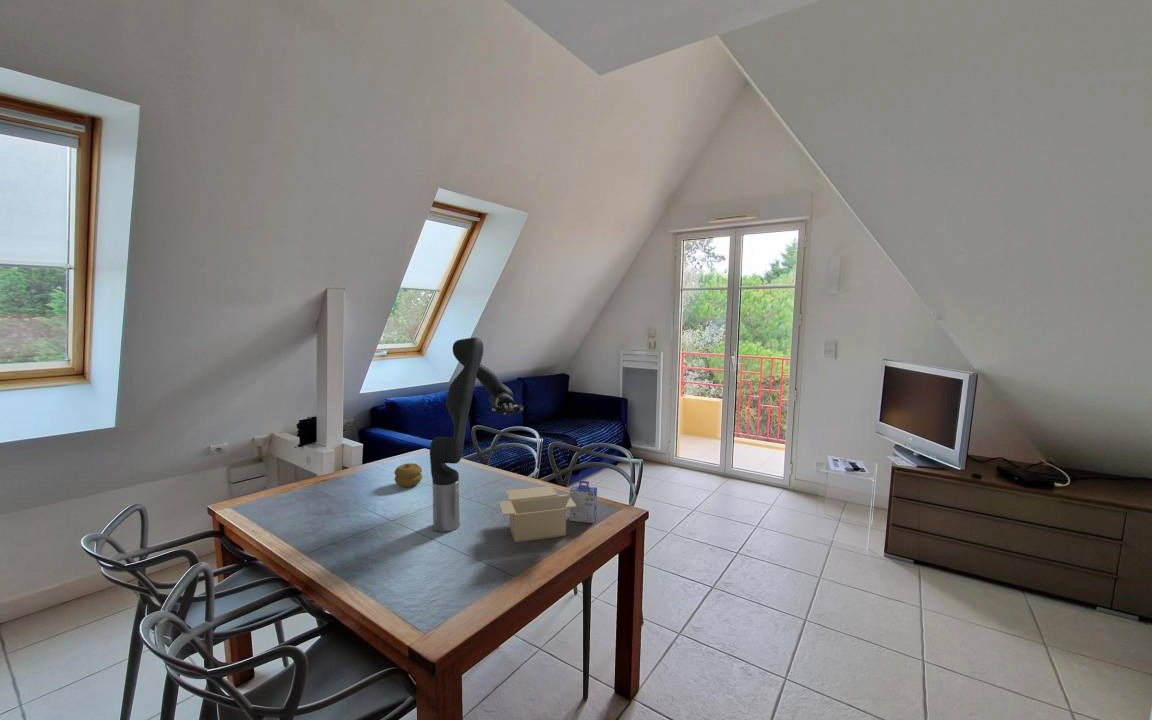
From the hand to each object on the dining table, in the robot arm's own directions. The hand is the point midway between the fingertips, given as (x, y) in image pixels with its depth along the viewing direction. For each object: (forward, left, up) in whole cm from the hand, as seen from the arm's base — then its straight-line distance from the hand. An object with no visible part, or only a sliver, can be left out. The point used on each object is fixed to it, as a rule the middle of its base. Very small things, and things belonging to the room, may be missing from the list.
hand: (510, 413), depth 179 cm
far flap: (+7, -26, -26) cm, 37 cm away
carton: (+7, -13, -40) cm, 42 cm away
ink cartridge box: (+26, -12, -40) cm, 49 cm away
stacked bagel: (-39, +42, -40) cm, 70 cm away
